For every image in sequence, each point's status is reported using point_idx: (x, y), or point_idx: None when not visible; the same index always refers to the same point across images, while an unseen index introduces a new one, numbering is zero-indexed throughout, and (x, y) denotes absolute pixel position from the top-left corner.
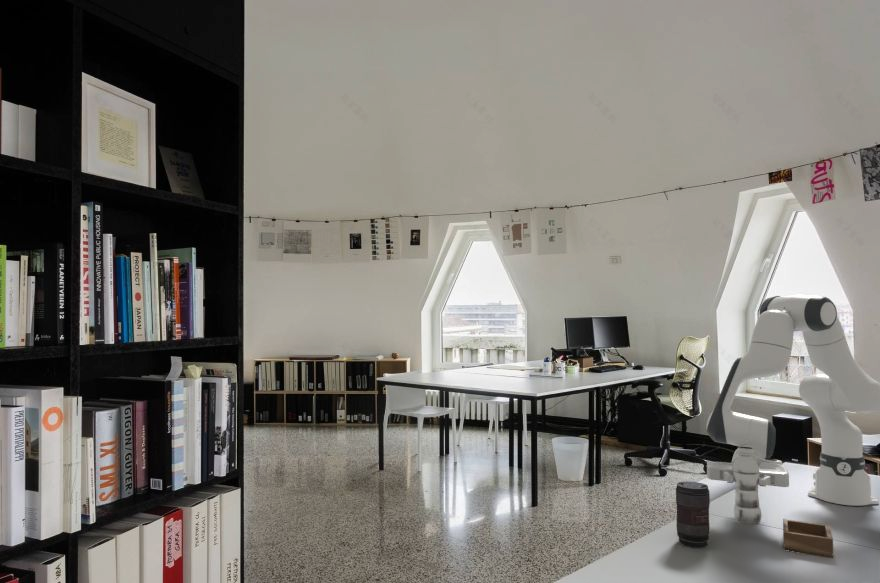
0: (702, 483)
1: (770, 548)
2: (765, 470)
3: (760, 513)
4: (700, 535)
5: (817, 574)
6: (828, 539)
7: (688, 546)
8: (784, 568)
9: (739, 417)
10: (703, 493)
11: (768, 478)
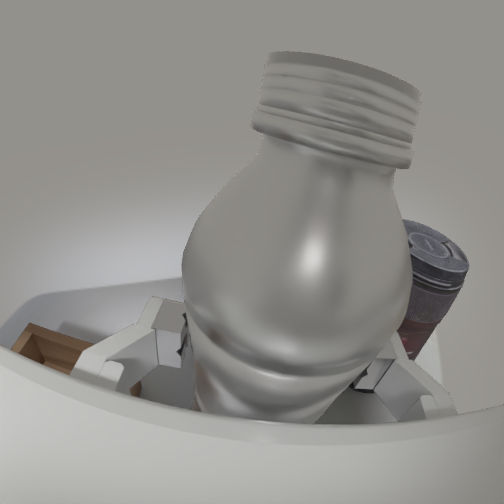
0: (423, 259)
1: (175, 395)
2: (67, 439)
3: None
4: None
5: (124, 286)
6: (37, 326)
7: None
8: (175, 298)
9: None
10: None
11: (106, 345)
